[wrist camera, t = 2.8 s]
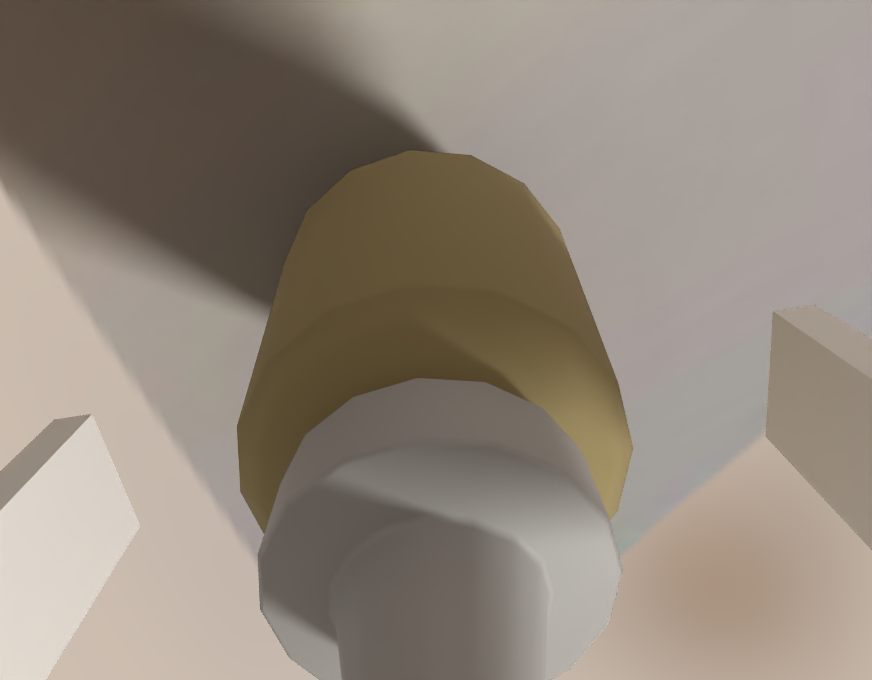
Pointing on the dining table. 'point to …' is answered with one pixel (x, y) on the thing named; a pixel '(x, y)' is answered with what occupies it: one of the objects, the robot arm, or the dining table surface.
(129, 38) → the dining table surface
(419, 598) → the squeeze bottle
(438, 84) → the dining table surface
